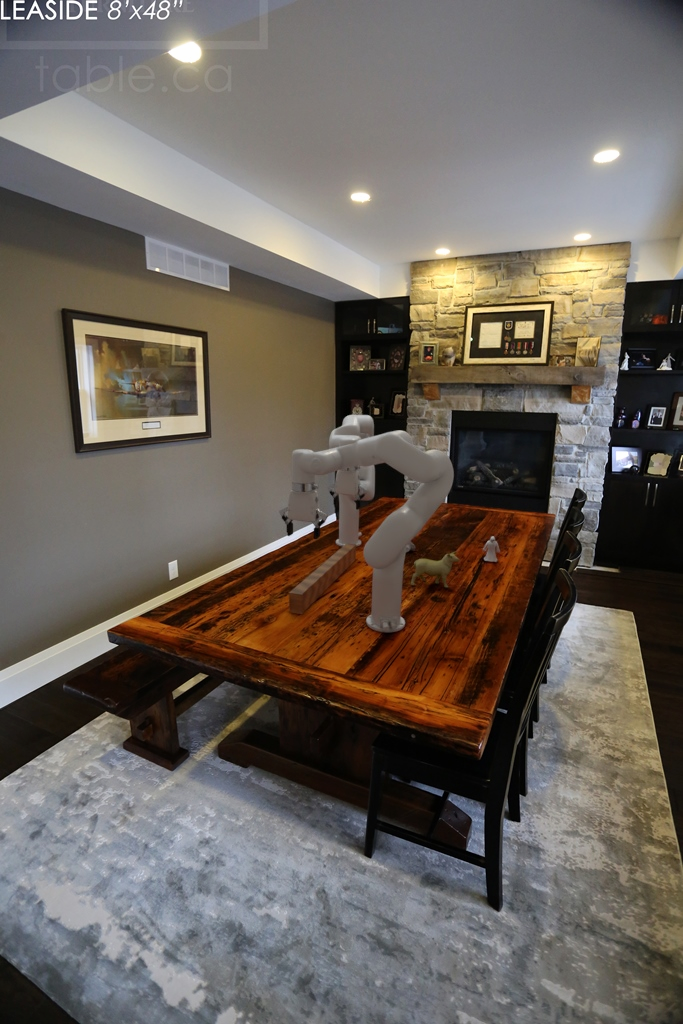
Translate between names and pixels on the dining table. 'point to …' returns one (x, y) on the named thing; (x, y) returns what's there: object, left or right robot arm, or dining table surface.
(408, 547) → the seashell
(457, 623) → the dining table surface
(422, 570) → the toy
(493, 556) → the figurine
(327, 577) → the beam
